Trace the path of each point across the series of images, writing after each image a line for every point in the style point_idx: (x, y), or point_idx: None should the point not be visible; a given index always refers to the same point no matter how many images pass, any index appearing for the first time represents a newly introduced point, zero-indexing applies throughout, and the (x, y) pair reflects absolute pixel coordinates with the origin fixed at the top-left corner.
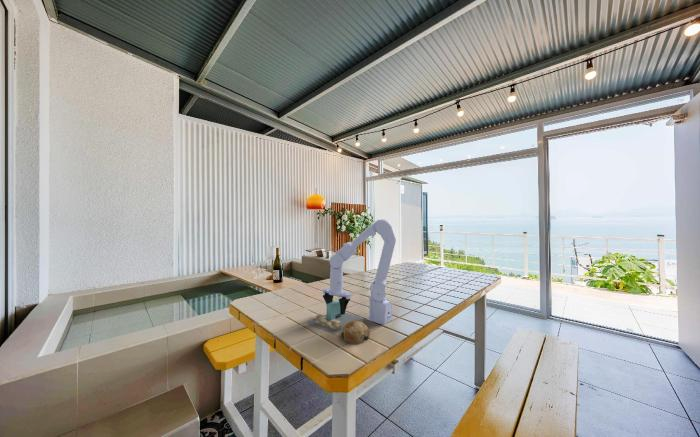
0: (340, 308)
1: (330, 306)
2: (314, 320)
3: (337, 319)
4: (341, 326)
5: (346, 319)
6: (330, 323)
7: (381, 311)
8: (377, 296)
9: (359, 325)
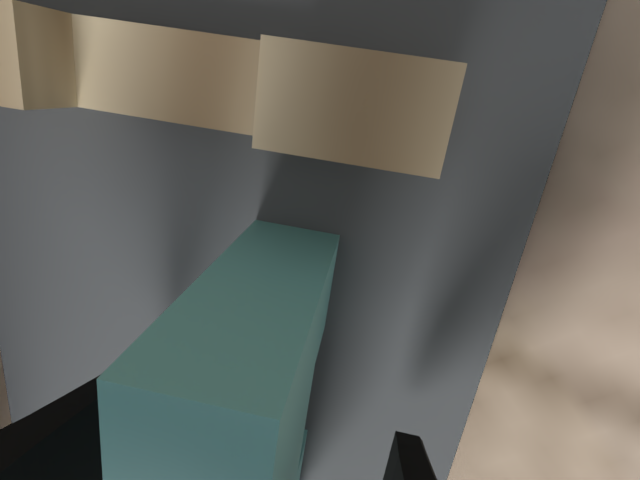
0: (44, 436)
1: (132, 356)
2: (524, 138)
3: None
4: (37, 155)
5: None
6: (106, 49)
7: None
8: None
9: None
